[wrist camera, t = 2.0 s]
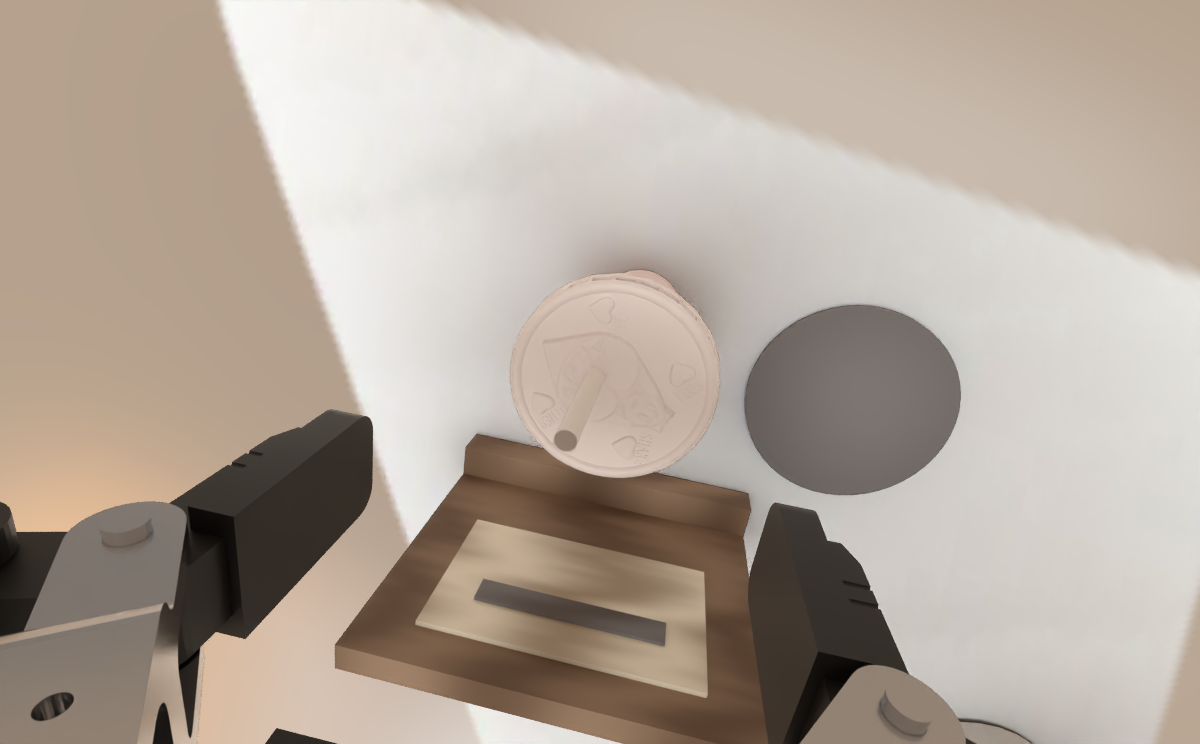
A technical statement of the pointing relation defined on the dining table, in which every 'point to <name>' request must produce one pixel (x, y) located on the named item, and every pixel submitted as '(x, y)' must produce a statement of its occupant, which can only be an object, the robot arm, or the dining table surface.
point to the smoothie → (616, 374)
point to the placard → (574, 603)
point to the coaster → (852, 400)
